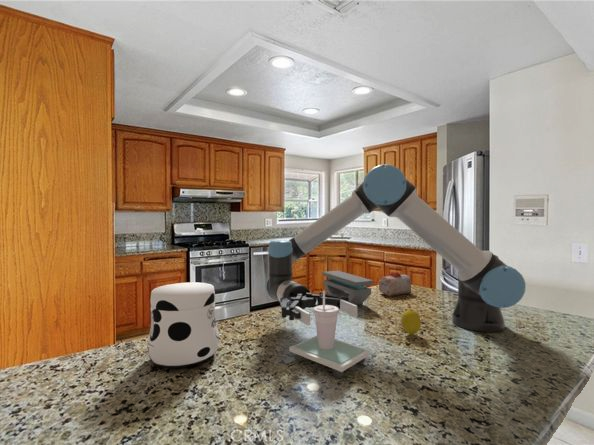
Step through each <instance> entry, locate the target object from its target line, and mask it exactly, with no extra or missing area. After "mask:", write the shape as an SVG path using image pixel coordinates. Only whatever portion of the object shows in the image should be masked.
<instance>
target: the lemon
mask: <svg viewBox="0 0 594 445" xmlns="http://www.w3.org/2000/svg"><path fill="white" fill-rule="evenodd" d="M421 322H422V321H421V316H420V315H419V313H418V312H417V311H416V310H413V309H412V308H409V309H407V310H405V311H404V312H403V314H402V316H401V324H400V325H401V327H402V329H403V331H405V332H406V334H407V333H408V335H409V336H413V335H414V334H416V333H418V332H419V331H420V329H421Z"/></svg>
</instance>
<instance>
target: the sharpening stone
mask: <svg viewBox="0 0 594 445" xmlns="http://www.w3.org/2000/svg"><path fill="white" fill-rule="evenodd" d="M321 275H322V276H324V277H327V279H323V286H324V288H325V292H326V294H329V295H335V296H341V297H343V296H345V297H348V298H349V303H352V304H354V305H357V306H358V305H359V306H360V305H363V304H364V303H365V301H366V300H368V298H369V297H370V296H371V295H372V288H371V287H367V286H371V285H374V280H373V279H369V278H365V277H363V276H358V275H356V274H351V273H348V272H344V271H341V270H329V271H322V274H321ZM328 278H329V279H328Z"/></svg>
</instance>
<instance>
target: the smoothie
mask: <svg viewBox="0 0 594 445" xmlns="http://www.w3.org/2000/svg"><path fill="white" fill-rule="evenodd" d="M322 293H323V305H319V306H316V307H312V308H313V311H312V312H313V314H314V320H315V327H316V336H317V337H318V345H319V348H320V349H323V350H330V349H333V347H334V339H336V330H337V322H338V315H339V313H340V309H339V308H338V307H336V306H332V305H325V294H326V290H322Z"/></svg>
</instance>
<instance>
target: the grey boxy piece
mask: <svg viewBox="0 0 594 445" xmlns="http://www.w3.org/2000/svg"><path fill="white" fill-rule="evenodd" d="M378 290H379V291H380V292H381V293H382V294H383V295H385V296H387V297H395V296H399V295H402V296H403V295H409V294H412V281H411V277H410V276H409V275H407V274H400V273H399V272H393V271H391V272H390V273H389V275H387V276H382V277H381V279H379V280H378Z"/></svg>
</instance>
